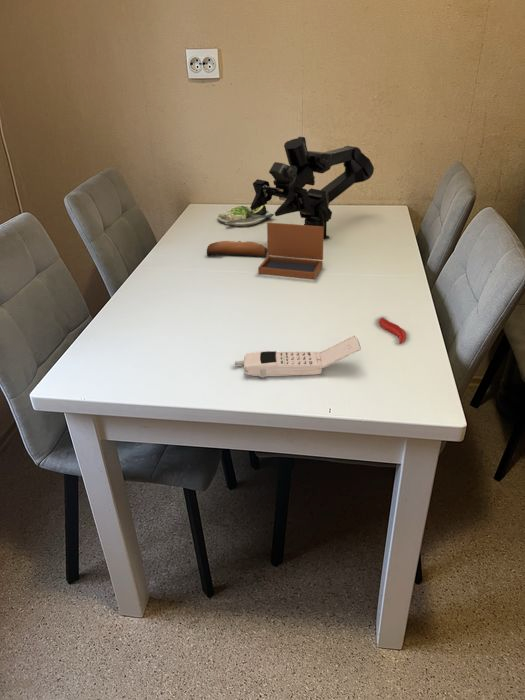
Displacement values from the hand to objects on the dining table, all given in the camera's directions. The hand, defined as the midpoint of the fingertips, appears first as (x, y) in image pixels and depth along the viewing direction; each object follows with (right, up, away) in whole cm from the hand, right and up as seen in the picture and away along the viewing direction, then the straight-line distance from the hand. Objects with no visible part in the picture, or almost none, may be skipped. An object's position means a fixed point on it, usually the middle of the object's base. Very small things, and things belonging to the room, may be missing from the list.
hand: (263, 211), depth 157 cm
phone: (+8, -17, -1) cm, 18 cm away
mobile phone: (+7, -43, -43) cm, 61 cm away
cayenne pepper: (+29, -35, -31) cm, 55 cm away
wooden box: (+8, -17, -1) cm, 19 cm away
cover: (+9, -9, -1) cm, 12 cm away
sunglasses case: (-7, -10, +13) cm, 18 cm away
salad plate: (-6, +7, +41) cm, 42 cm away
